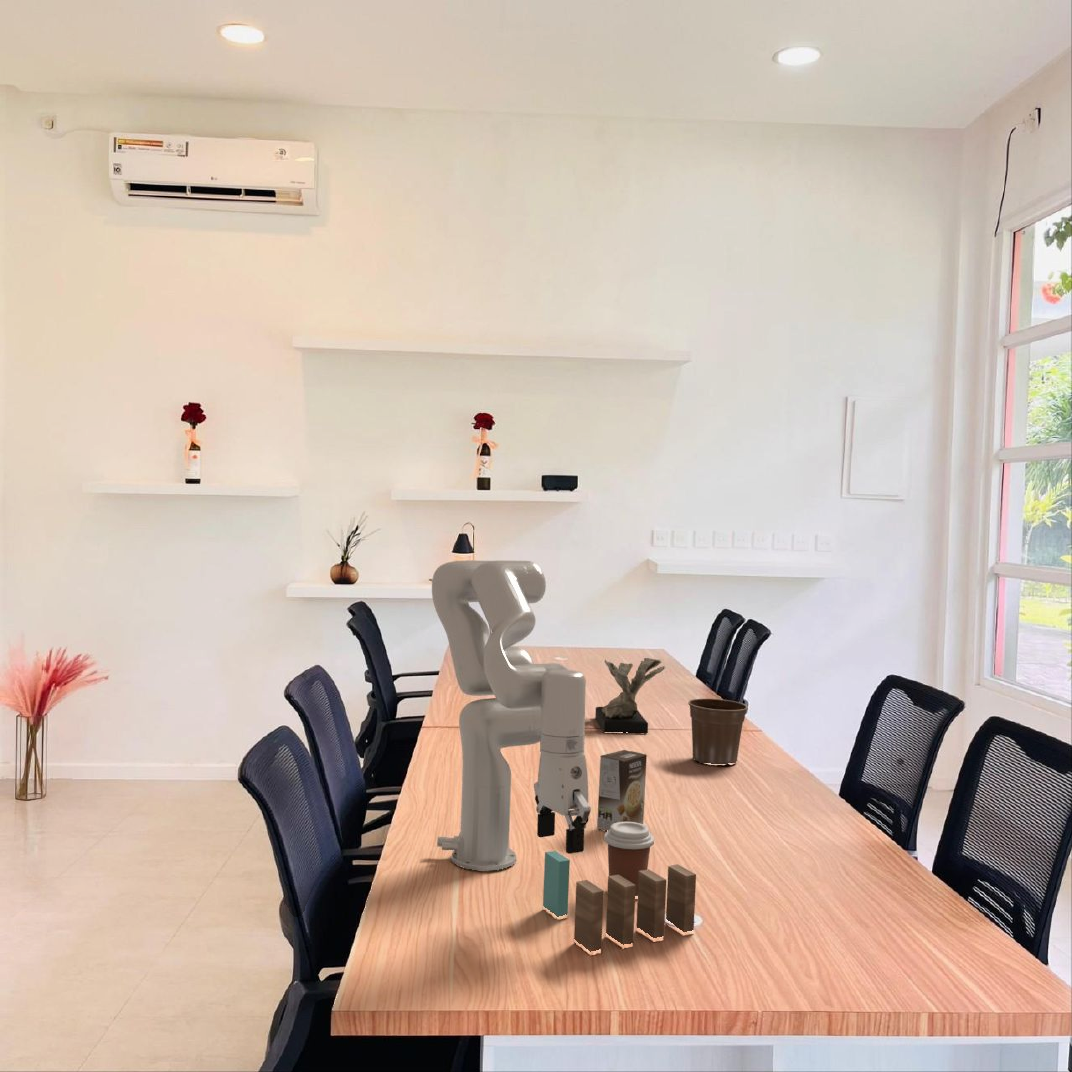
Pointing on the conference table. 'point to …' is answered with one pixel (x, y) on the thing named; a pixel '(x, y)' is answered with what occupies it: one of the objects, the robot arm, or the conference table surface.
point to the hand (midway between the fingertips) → (559, 844)
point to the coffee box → (621, 788)
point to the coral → (626, 699)
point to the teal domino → (556, 883)
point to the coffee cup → (628, 850)
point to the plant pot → (716, 729)
